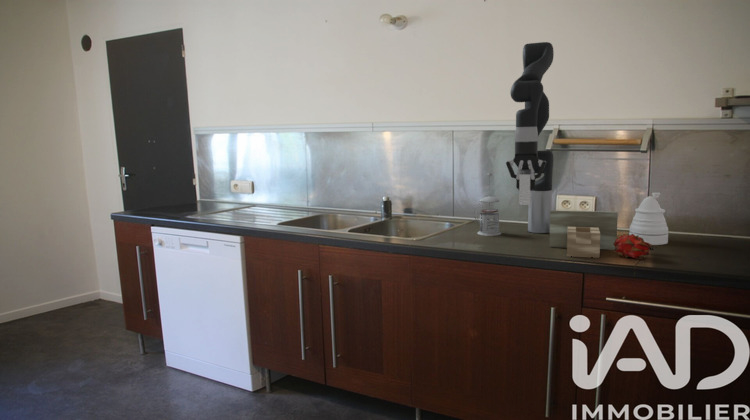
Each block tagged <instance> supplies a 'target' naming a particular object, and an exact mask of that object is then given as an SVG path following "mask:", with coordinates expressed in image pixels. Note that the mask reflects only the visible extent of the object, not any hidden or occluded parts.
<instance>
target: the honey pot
mask: <svg viewBox="0 0 750 420" xmlns="http://www.w3.org/2000/svg"><path fill="white" fill-rule="evenodd" d="M651 194H652V196H650V195H649V196H646V197H645V198H644V199H643V200H642V201H641V202H640V204H639V206H638V207H637V208H635V209H634V212H635V214H634V215H633V216H632V221H631V224H630V225H629V228H628V229H629V232H628V234H629V235H632V234H634V235H635V236H637V235H638V236H639V237H641V238H643V240H644V242H647V243H650V244H651V245H652V246H659V245H660V246H661V245H667V244H668V243H669V227H668V224H667V221H666V217H665V215H664V213H666V209H664V208H661V205H660V203H659V202H658V200H657V199H658V198H660V195H661V192H652V193H651Z"/></svg>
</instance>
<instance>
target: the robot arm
mask: <svg viewBox="0 0 750 420" xmlns="http://www.w3.org/2000/svg"><path fill="white" fill-rule="evenodd" d="M554 53H555V52H554V47H553V44H552V42H549V41H543V42H542V41H540V42H530V43H526V44H524V46H523V47H522V66H523V71H522V74H521V76H520V77H519V78H517V79H516V80H515V81H514V82H513V84H511V85H512V86H511V87H510V91H509V92H510V97H511V100H513V101H514V102H515V103H524V108H522V109H519V110H517V111H516V113H515V132H514V133H515V134H514V156H513V159H511V160H509V161H506V162H505V164H506V167H507V170H508V172H509V175H510V177H511V178H512V179H515V180H516V181H515V182H516V185H515V187H516V189H517V190H518V191H519V180H520V169H531V191H532V202H531V204H530V205H527V206H528V209H527V212H528V213H527V217H528V218H527V221H528V222H527V232H529V233H533V234H547V233H549V234H550V210H552V208H553V205H552V203H553V173H554V172H553V171H554V170H553V169H554V153H553V152H552V150H538V148H539V147H538V145H539V144H538V141H539V136H540V134H541V132H542V131H543V129H544V128H545V127H546V125H547V124H548V122H549V119H550V101H549V98H548V96H547V95H546V94H545V92H544V85H543V83H542V81H543V77H544V75H545V73H546V72H547V71H548V70H549V68H550V67H551V66H552V64H553V61H554ZM514 164H515V165H516V167H517V168H518V169H517V172H516V174H515V170H514V169H513V167H514ZM542 175H543V177H541V176H542ZM539 178H540V179H539Z"/></svg>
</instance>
